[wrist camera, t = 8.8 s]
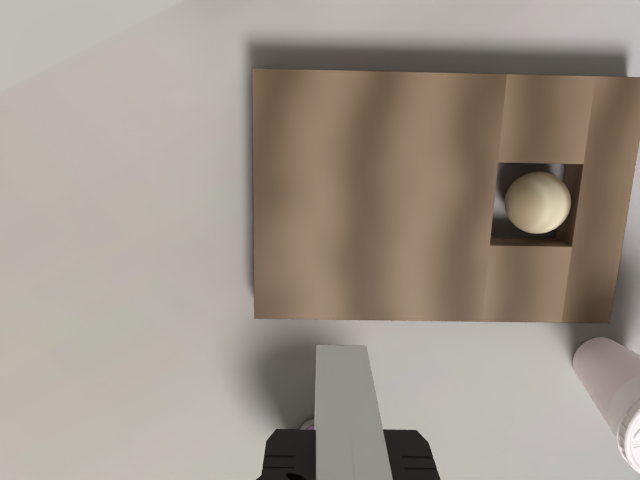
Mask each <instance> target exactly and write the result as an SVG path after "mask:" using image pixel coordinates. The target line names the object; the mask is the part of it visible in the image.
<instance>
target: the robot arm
mask: <svg viewBox="0 0 640 480" xmlns="http://www.w3.org/2000/svg"><path fill="white" fill-rule="evenodd" d="M256 480H440V477H439V474H438V471H437V468H436V465H435V462H434V459H433V455H432V452H431V449H430V446H429V443H428V442H427V441H426V440H425V439H424V438H423V437H422V436H421V434H420V433H419V432H418V431H417V430H383V428H382V423H381V418H380V413H379V408H378V403H377V398H376V392H375V387H374V382H373V377H372V372H371V367H370V362H369V357H368V352H367V347H366V346H350V345H316V380H315V420H314V430H300V429H276V430H275V431H274V433H273V434H272V435H271V436H270V437H269V439H268V440H267V441H266V447H265V454H264V461H263V470H262V475H261V476H260V477H259V478H258V479H256Z"/></svg>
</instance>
